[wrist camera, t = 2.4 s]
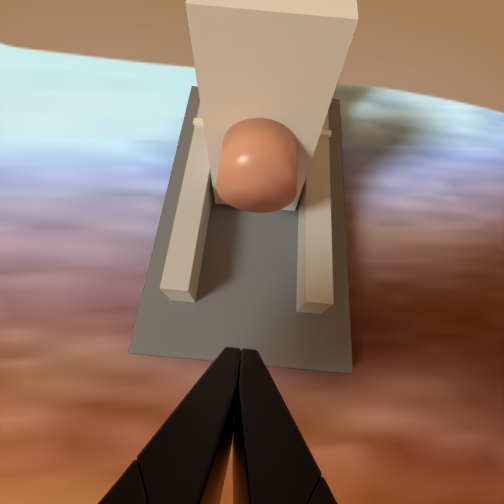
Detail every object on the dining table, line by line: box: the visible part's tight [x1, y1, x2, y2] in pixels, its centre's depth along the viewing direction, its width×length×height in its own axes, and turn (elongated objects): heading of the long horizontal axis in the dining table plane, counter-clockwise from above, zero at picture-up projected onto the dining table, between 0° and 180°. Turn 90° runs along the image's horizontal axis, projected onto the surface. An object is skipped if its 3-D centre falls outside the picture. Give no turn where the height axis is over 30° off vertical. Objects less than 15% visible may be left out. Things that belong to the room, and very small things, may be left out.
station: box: [128, 86, 353, 373], centre depth 17 cm, size 20×12×6 cm, turn 175°
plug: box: [186, 0, 358, 213], centre depth 14 cm, size 6×5×11 cm
